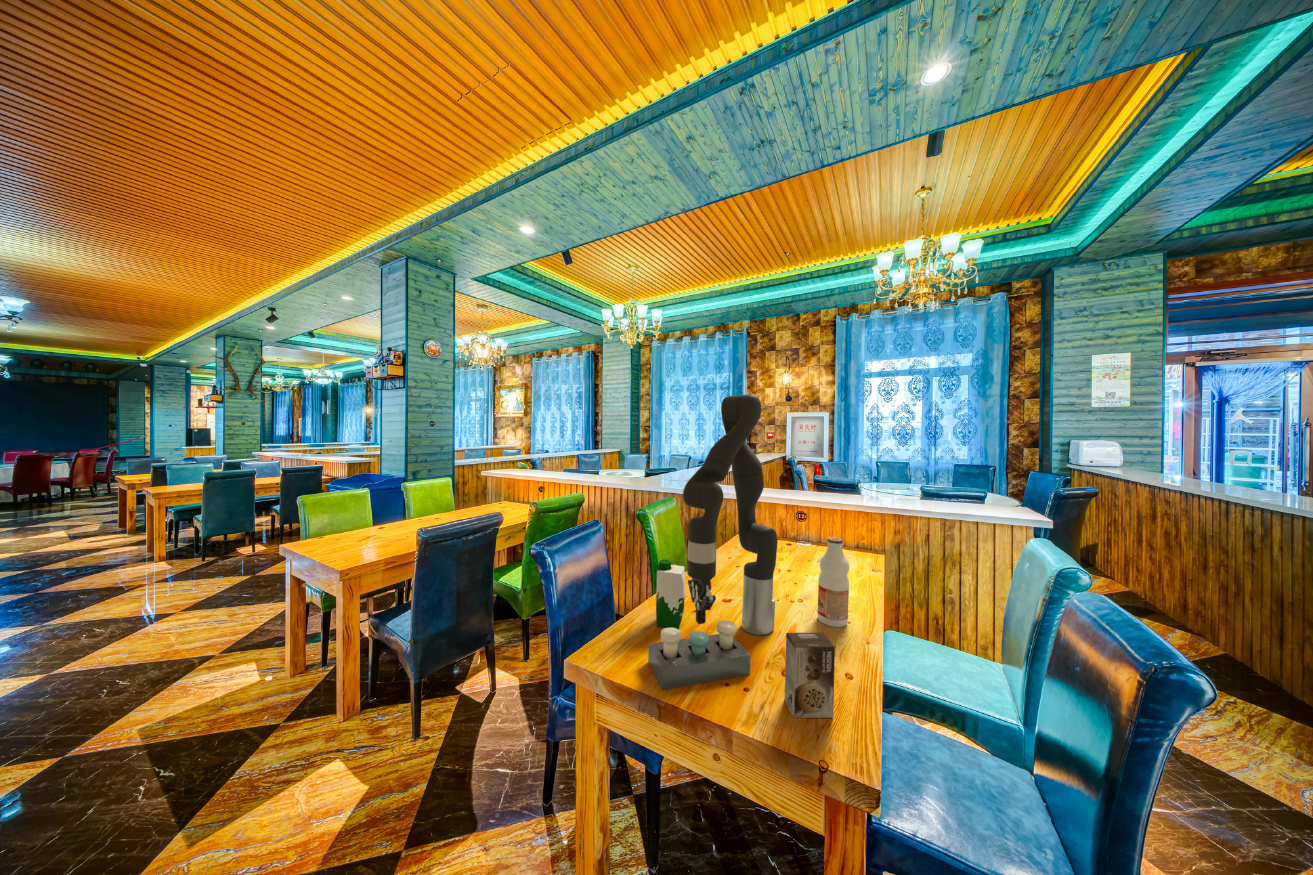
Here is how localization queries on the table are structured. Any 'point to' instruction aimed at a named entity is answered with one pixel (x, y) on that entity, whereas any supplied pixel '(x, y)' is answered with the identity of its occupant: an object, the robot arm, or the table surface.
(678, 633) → the ivory plug
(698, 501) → the robot arm
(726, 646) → the ivory plug
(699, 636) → the plug teal
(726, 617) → the table surface
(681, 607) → the milk carton
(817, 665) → the coffee box
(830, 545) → the fruit juice
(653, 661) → the socket strip
